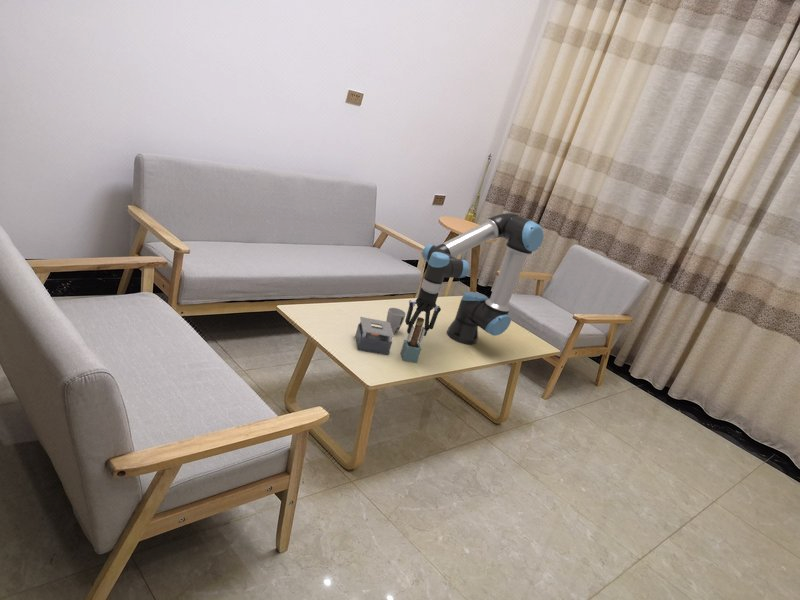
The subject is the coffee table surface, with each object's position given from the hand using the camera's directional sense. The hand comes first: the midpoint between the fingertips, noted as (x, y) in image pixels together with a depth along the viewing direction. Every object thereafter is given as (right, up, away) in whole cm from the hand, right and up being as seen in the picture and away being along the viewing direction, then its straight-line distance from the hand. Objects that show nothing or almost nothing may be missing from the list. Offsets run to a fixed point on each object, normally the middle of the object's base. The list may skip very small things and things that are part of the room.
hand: (413, 341), depth 224 cm
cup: (-10, +3, +24) cm, 26 cm away
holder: (-2, -7, +3) cm, 8 cm away
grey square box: (-18, -2, +4) cm, 19 cm away
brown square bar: (-2, -7, +3) cm, 8 cm away
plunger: (-17, 0, +4) cm, 18 cm away
